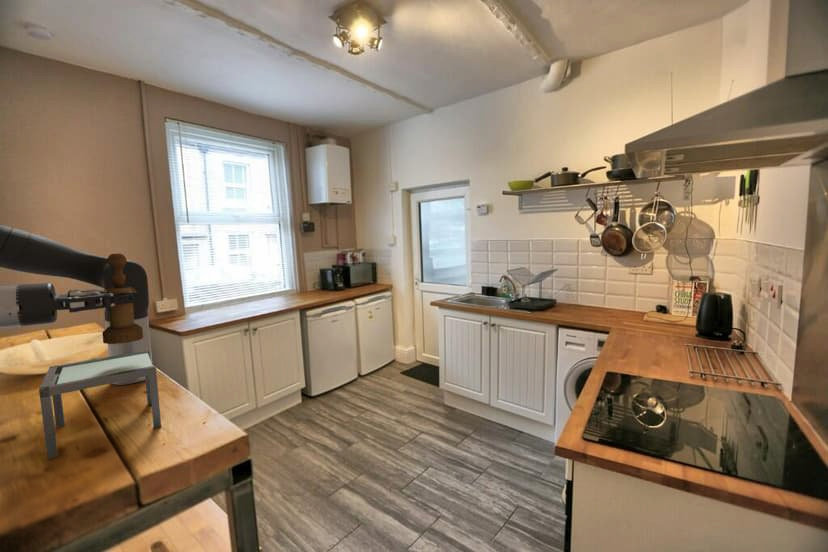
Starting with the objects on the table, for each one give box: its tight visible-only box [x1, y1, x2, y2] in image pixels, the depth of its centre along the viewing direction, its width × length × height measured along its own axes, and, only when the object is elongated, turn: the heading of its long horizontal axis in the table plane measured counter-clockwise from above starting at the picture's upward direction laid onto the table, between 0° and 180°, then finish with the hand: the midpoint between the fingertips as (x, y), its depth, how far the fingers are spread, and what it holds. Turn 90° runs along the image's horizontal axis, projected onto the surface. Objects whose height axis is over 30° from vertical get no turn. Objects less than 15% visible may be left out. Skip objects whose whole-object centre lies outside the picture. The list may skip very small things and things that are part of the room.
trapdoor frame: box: [38, 350, 162, 461], centre depth 73 cm, size 15×16×13 cm
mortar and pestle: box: [102, 253, 143, 345], centre depth 74 cm, size 7×6×18 cm
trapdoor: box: [57, 353, 153, 384], centre depth 73 cm, size 12×14×1 cm
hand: (137, 295), depth 76 cm, fingers closed on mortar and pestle, 4 cm apart
